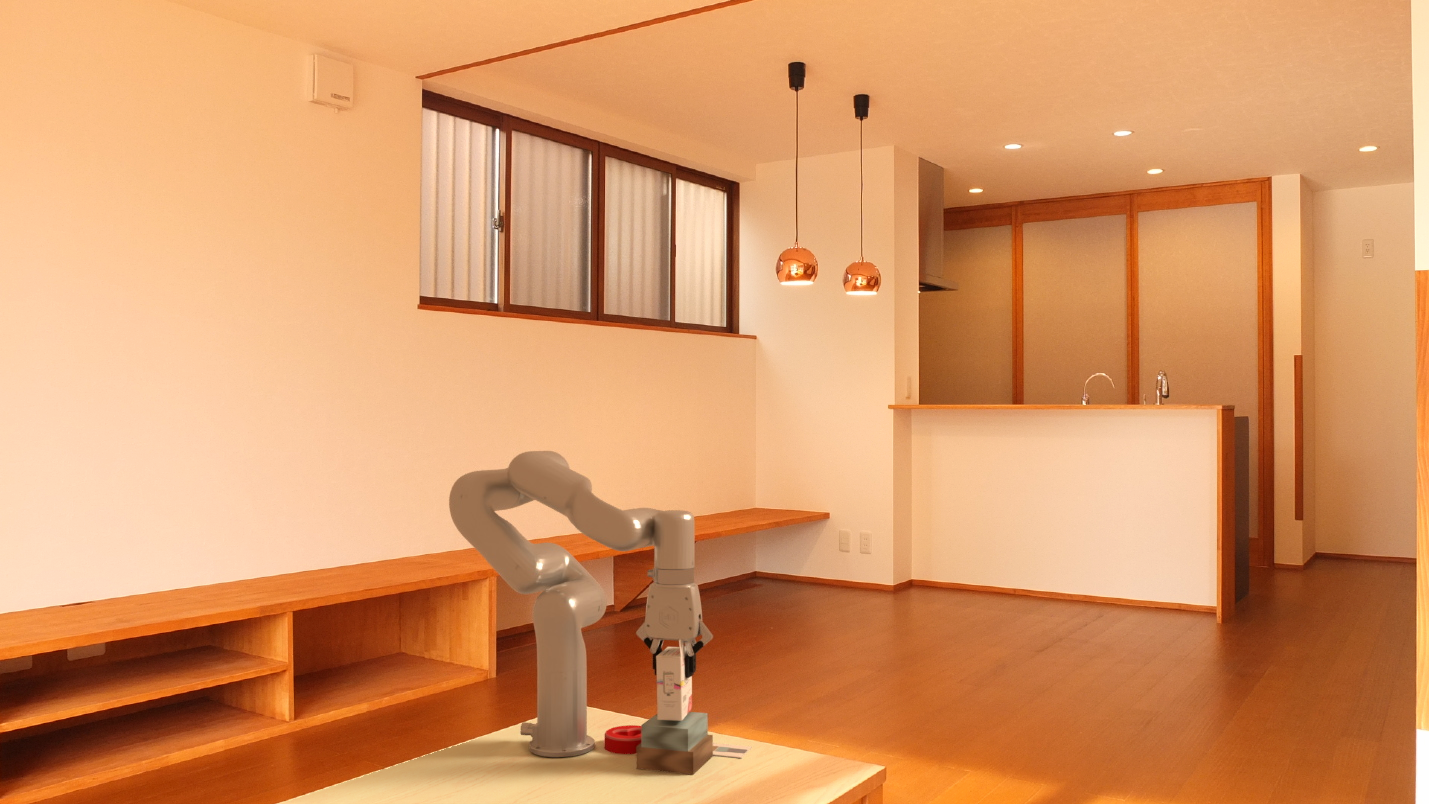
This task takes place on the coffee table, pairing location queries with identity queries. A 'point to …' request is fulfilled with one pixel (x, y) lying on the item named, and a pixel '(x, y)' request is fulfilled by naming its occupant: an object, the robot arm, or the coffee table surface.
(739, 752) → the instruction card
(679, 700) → the ink cartridge box
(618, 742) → the decorative ornament
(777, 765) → the coffee table surface
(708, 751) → the pedestal
